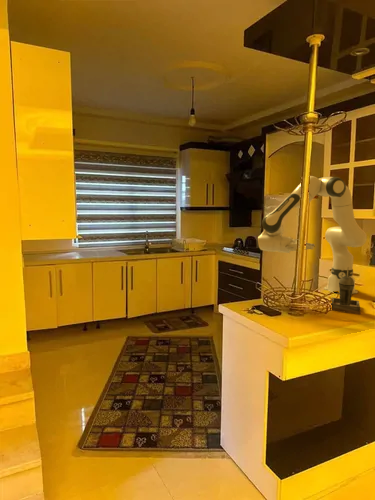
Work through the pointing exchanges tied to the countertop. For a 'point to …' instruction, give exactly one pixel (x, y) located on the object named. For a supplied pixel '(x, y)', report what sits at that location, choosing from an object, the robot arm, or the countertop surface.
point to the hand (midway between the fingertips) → (314, 246)
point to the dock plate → (346, 306)
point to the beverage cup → (346, 289)
